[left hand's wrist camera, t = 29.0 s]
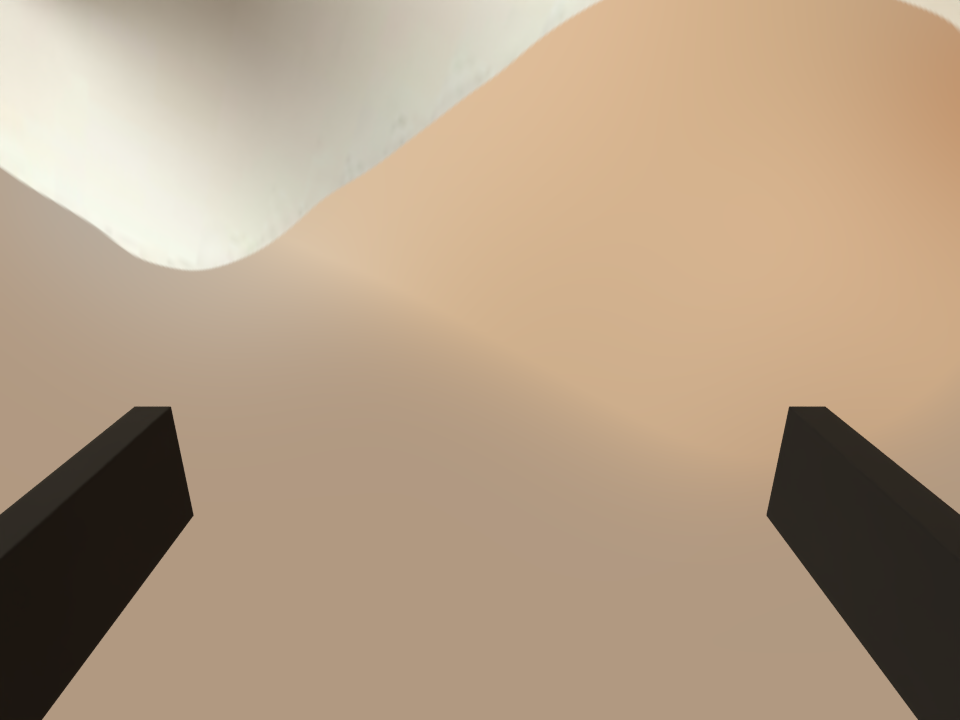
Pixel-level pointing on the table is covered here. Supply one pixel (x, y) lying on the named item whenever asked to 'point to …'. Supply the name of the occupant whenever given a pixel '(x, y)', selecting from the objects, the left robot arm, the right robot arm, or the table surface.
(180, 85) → the table surface
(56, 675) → the left robot arm
